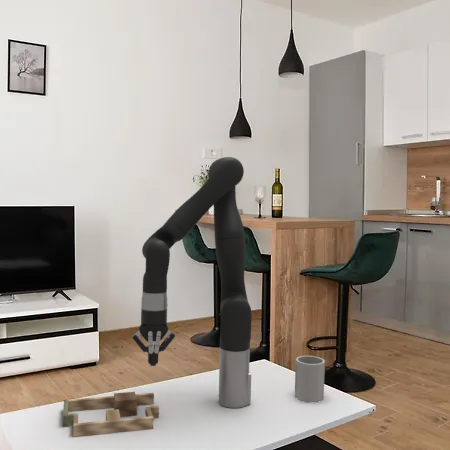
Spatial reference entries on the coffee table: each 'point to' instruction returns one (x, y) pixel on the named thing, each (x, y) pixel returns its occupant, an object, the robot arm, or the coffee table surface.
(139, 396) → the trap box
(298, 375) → the cup
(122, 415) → the walnut block
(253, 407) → the coffee table surface
